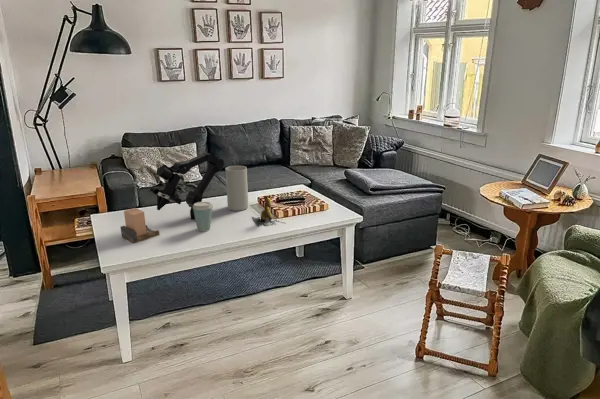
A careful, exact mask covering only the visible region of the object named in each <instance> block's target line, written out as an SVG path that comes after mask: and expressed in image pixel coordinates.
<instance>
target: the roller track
mask: <svg viewBox="0 0 600 399" xmlns="http://www.w3.org/2000/svg"><path fill="white" fill-rule="evenodd" d="M120 232H121V238H122V239H124V240H126V241H128V242H130V243H131V244H137V243H139V242H143V241H147V240H149V239H151V238H155V237H158V236H160V230H155V229H152V228H150V227H149V226H148V225H147V224H146V232H147V234H144V235H141V236H138V237H137V232H136V231H135V230H133V229H130V228H128V227H126V225H122V226H120Z"/></svg>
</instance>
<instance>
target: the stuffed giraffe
mask: <svg viewBox="0 0 600 399" xmlns="http://www.w3.org/2000/svg"><path fill="white" fill-rule="evenodd" d="M271 199H272V196H271V195H270V194H269V195H268V196H267V195H265V196H264V197H263V200H264V201H265V202H264V209H262V210H261V214H260V216H258V217H254V216H251V218H252V220H253V221H254V222H255V225H256V227H257V228H260V226H263V227H266V226H267V227H270V226H277V223H281V224H285V225H286V224H287V223H286V222H282V221H281V220H278V221H277V219H274V220H272V219H273V216H272V215H271V214H272V213H271V210H270V208H271V205H272V200H271ZM260 218H261V219H260ZM269 221H270V222H269ZM275 221H276V222H277V223H276V222H275ZM271 223H272V224H271Z"/></svg>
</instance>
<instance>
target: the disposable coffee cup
mask: <svg viewBox="0 0 600 399" xmlns="http://www.w3.org/2000/svg"><path fill="white" fill-rule="evenodd" d="M213 207H214V205H213V203H212V202H210V201H201V202H198V203H195V204H194V205H193V210H194V215H195V219H194V221H195V224H196V229H197V231H199V232H208V231H210V230H211V224H212V213H213Z"/></svg>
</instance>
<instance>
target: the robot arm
mask: <svg viewBox="0 0 600 399" xmlns="http://www.w3.org/2000/svg"><path fill="white" fill-rule="evenodd" d="M206 162H207V163H208V164H207V170H206V172H205V173H204V174H203V176H202V178H201V180H200V181H199V182H198V184H197V186H196V187H195V189H194V190H189V191H188V194H187V195H186V198H185V202H186V205H188V207H189V208H190V210H189V217H190V220H195V215H194V210H193V205H194V204H195V203H198V202H203V194H204V192H205V191H206V190H207V188H208V186H209V184H210V183H211V181H212V180H213V178H214V177H215V175H216V174H217V173H219V172H220V171H221V170H222V169H223V168H224V166H225V161H224V159H223V158H220V157H219V158H218V157H216V156H214V155H212V153H207V152H203V153H202V154H199V155H197V156H195V157H193V158H190V159H188V160H183V161H182V160H181V161H177V162H174V163H173V164H172V165H171V166H168V165H167V164H162V165H161V166H159V167H158V168H157V170H156V172H155V173H156V175H157V176H158V177H160V178H161V179H162V180H165V181H166V182H164V183H163V185H164V186H163V188H162V189H161V188H160V189H159V188H156V187H154V186H151V188H149V190H148V191H149V192H150V193H152V194H153V195H155V196H156V199H157V200H156V201H157V202H156V210H158V211H160V210H162V209H163V207H165V206H166V205H167V204H169V203H172V202H174V203H175V204H178V205H181V204H182V199H181V198H180V196H179V193H177V190H178V188H177V186H178V185H179V183H180V181H183V182H184V181H185V178H184V175H185V174H187V173H188V172H190V170H192V169H193V168H195V167H196V166H199V165H201V164H203V163H206Z"/></svg>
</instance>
